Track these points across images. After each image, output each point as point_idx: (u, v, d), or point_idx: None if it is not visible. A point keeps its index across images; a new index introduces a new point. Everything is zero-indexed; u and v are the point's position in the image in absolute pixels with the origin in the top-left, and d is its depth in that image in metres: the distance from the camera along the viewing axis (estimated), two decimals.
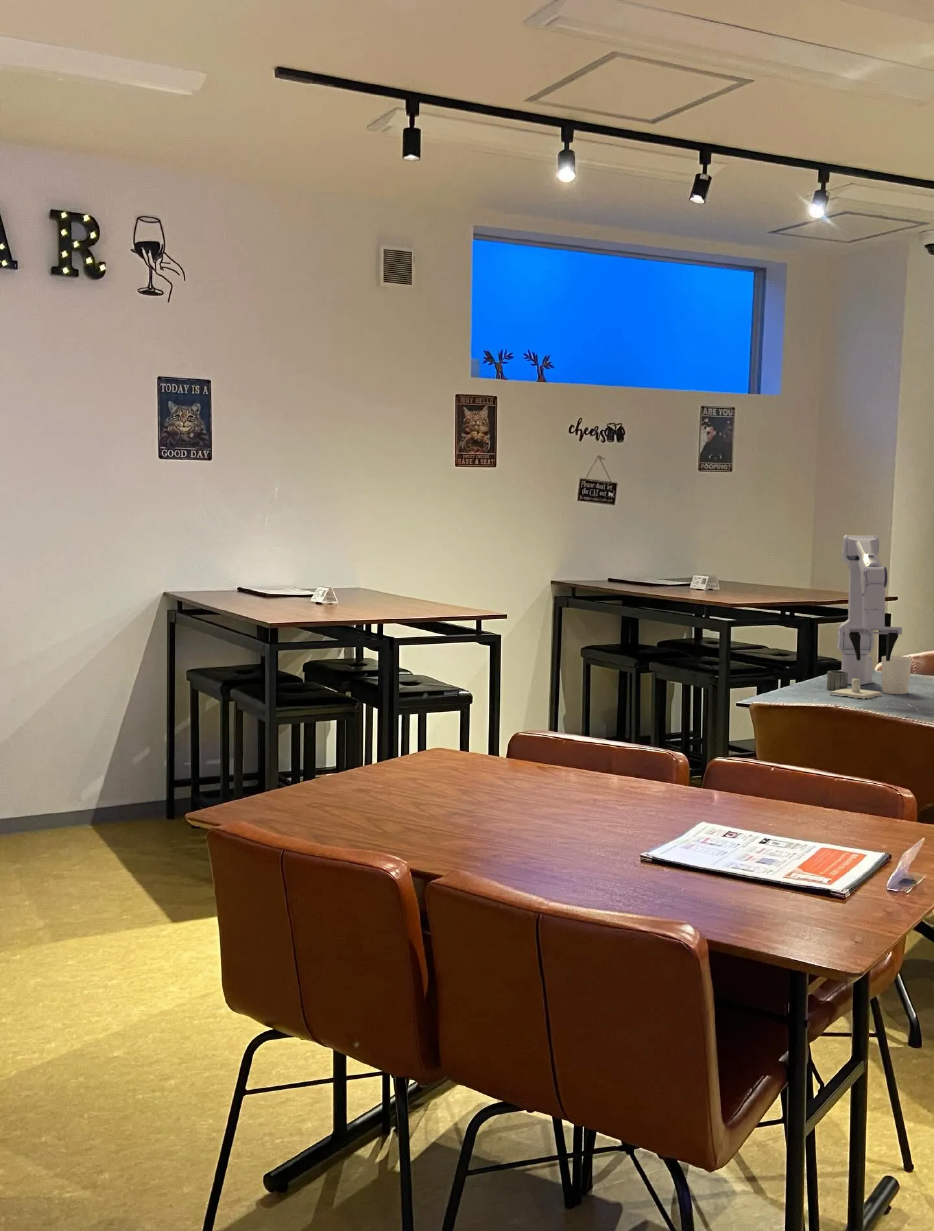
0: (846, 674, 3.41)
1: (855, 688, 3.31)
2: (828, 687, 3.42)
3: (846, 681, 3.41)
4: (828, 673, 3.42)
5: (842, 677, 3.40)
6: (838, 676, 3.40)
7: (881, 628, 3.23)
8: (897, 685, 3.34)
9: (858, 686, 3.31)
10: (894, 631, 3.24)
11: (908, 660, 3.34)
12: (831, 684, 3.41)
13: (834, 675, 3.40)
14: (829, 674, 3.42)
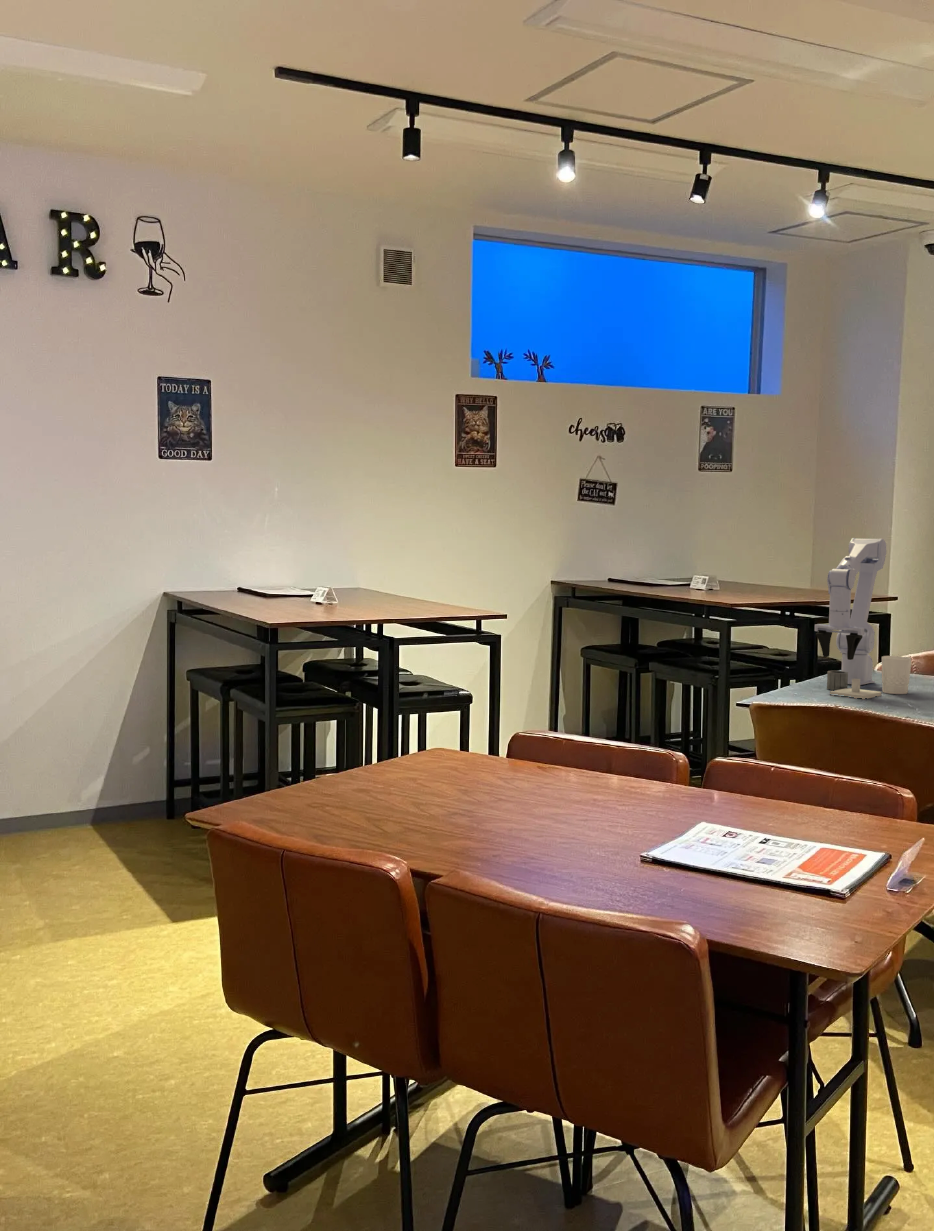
0: (846, 674, 3.41)
1: (855, 688, 3.31)
2: (828, 687, 3.42)
3: (846, 681, 3.41)
4: (828, 673, 3.42)
5: (842, 677, 3.40)
6: (838, 676, 3.40)
7: (839, 629, 3.38)
8: (897, 685, 3.34)
9: (858, 686, 3.31)
10: (856, 631, 3.37)
11: (908, 660, 3.34)
12: (831, 684, 3.41)
13: (834, 675, 3.40)
14: (829, 674, 3.42)
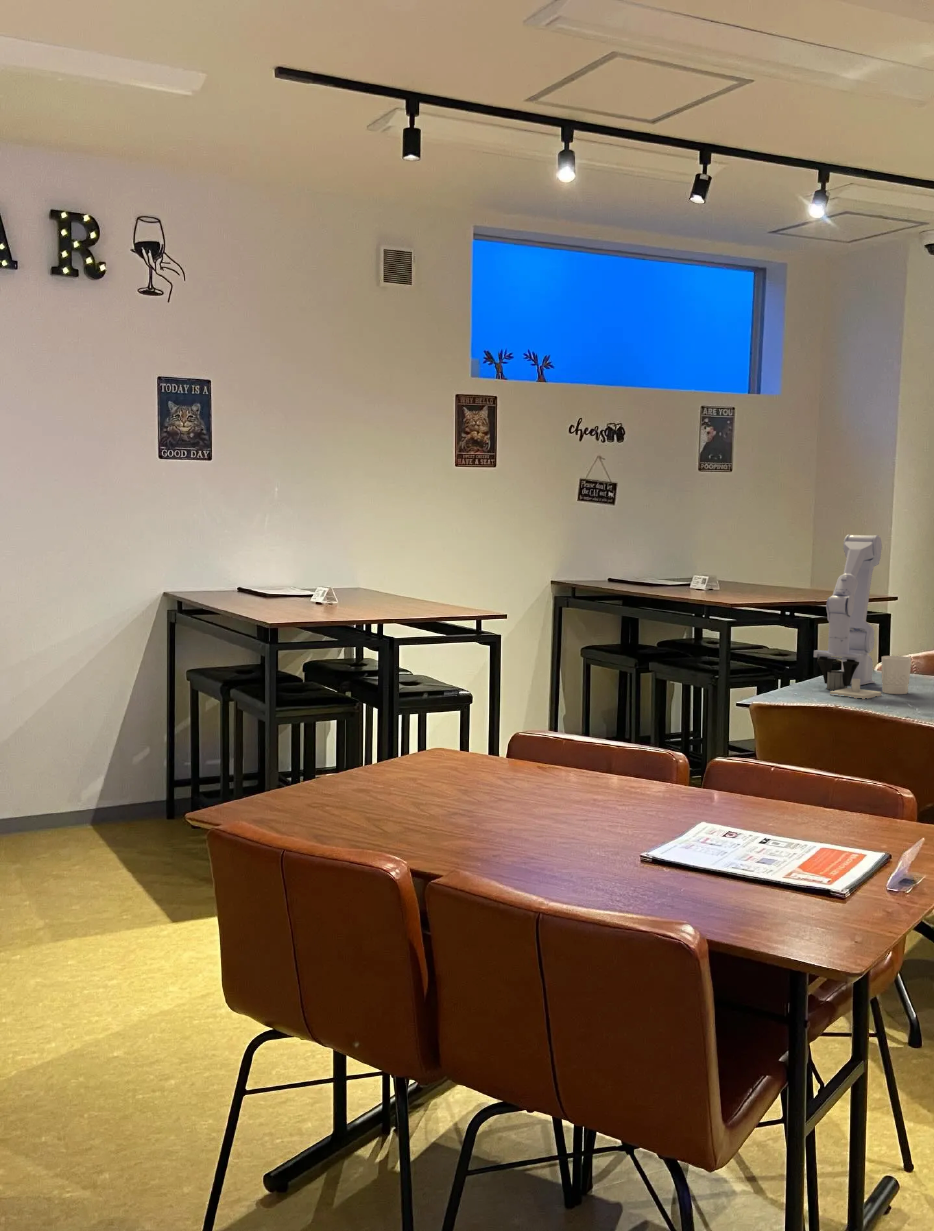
0: None
1: (855, 688, 3.31)
2: (828, 687, 3.42)
3: None
4: (828, 673, 3.42)
5: (842, 677, 3.40)
6: (838, 676, 3.40)
7: (838, 655, 3.39)
8: (897, 685, 3.34)
9: (858, 686, 3.31)
10: (855, 658, 3.38)
11: (908, 660, 3.34)
12: (831, 684, 3.41)
13: (834, 675, 3.40)
14: (829, 674, 3.42)
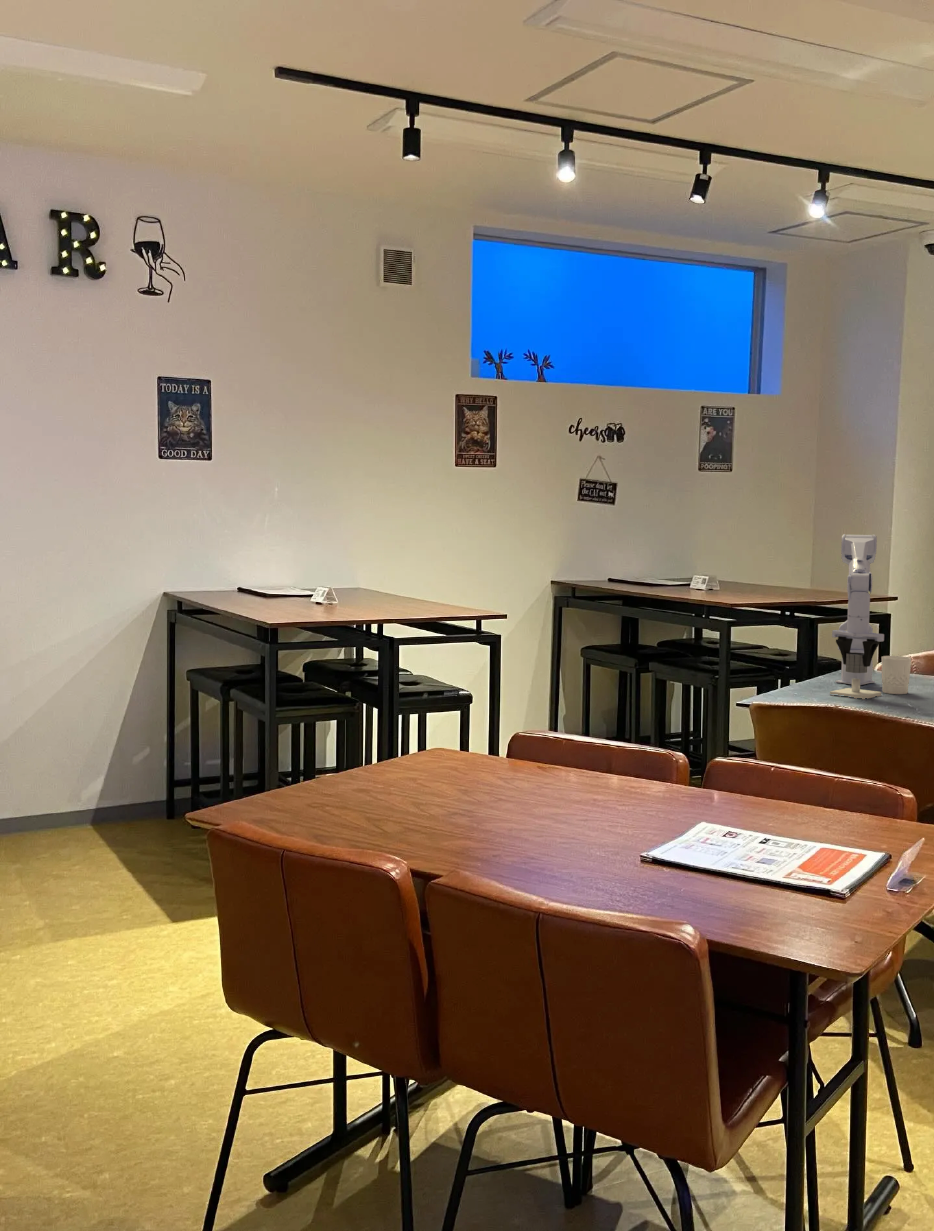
0: None
1: (855, 688, 3.31)
2: (847, 669, 3.31)
3: None
4: (847, 655, 3.31)
5: (862, 659, 3.29)
6: (858, 658, 3.29)
7: (858, 635, 3.28)
8: (897, 685, 3.34)
9: (858, 686, 3.31)
10: (875, 638, 3.27)
11: (908, 660, 3.34)
12: (850, 666, 3.30)
13: (853, 657, 3.29)
14: (848, 656, 3.30)
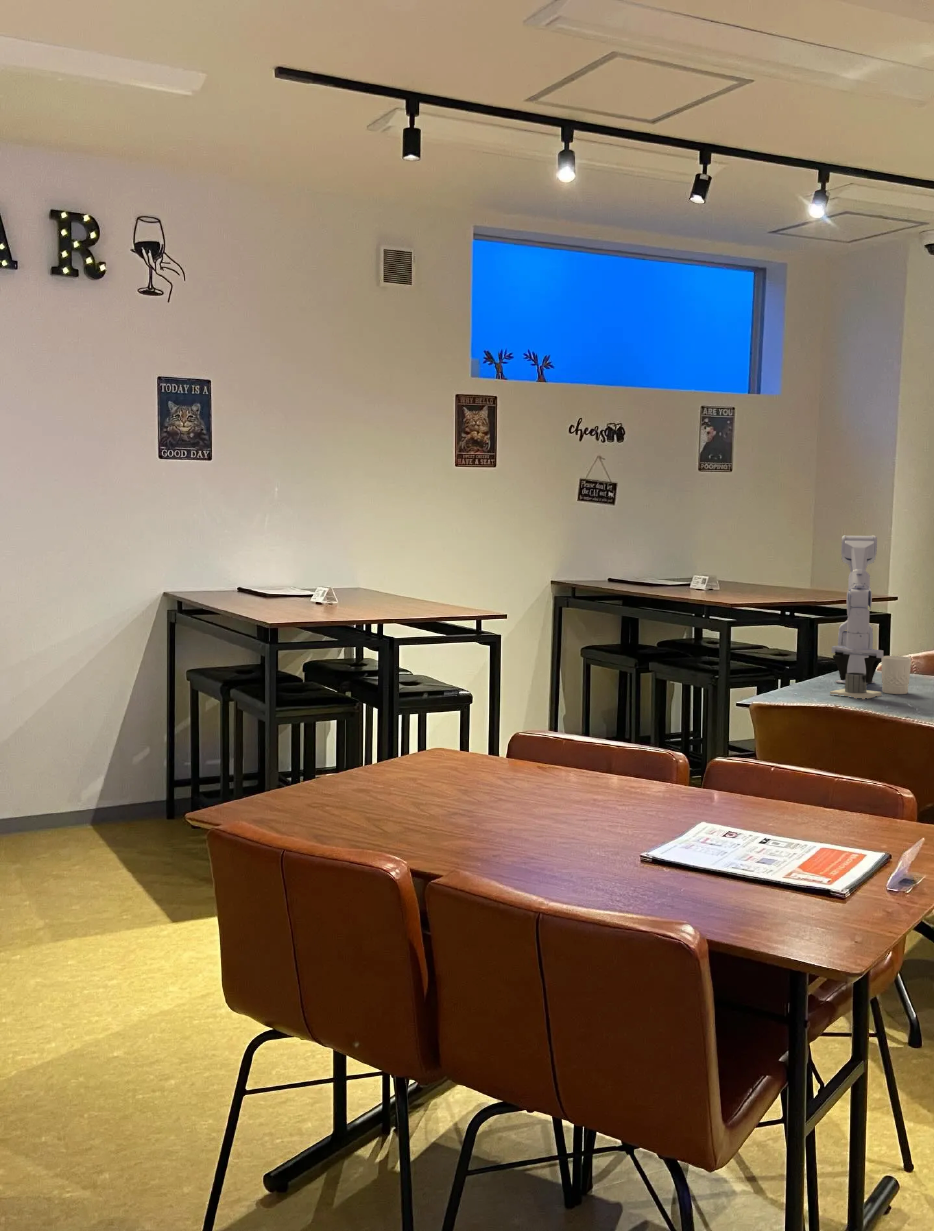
0: (865, 676, 3.30)
1: None
2: (846, 689, 3.32)
3: (865, 683, 3.30)
4: (846, 675, 3.31)
5: (861, 679, 3.29)
6: (857, 678, 3.29)
7: (858, 651, 3.28)
8: (897, 685, 3.34)
9: None
10: (874, 654, 3.27)
11: (908, 660, 3.34)
12: (849, 686, 3.30)
13: (853, 677, 3.30)
14: (847, 676, 3.31)
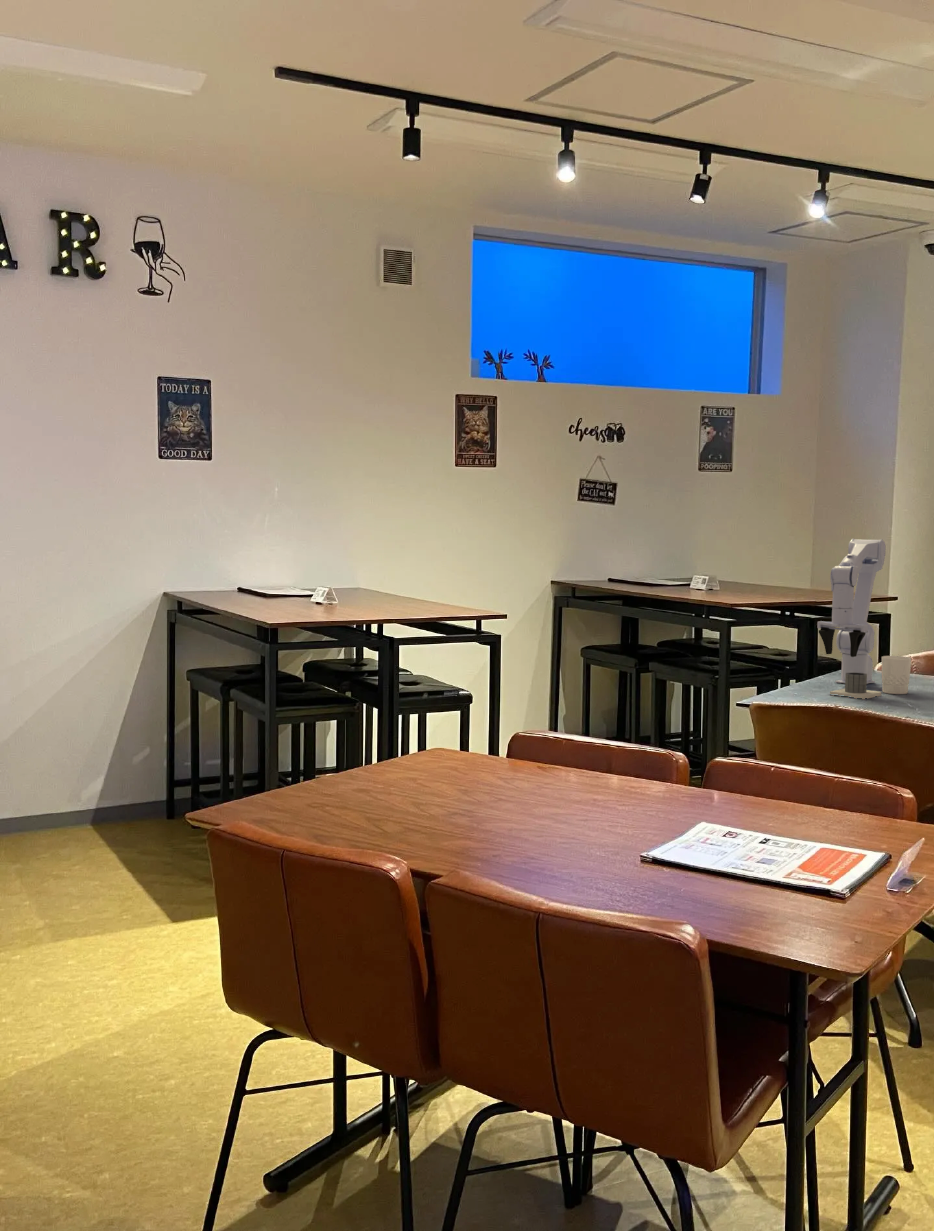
0: (865, 676, 3.30)
1: None
2: (846, 689, 3.32)
3: (865, 683, 3.30)
4: (846, 675, 3.31)
5: (861, 679, 3.29)
6: (857, 678, 3.29)
7: (842, 626, 3.39)
8: (897, 685, 3.34)
9: None
10: (859, 628, 3.38)
11: (908, 660, 3.34)
12: (849, 686, 3.30)
13: (853, 677, 3.30)
14: (847, 676, 3.31)
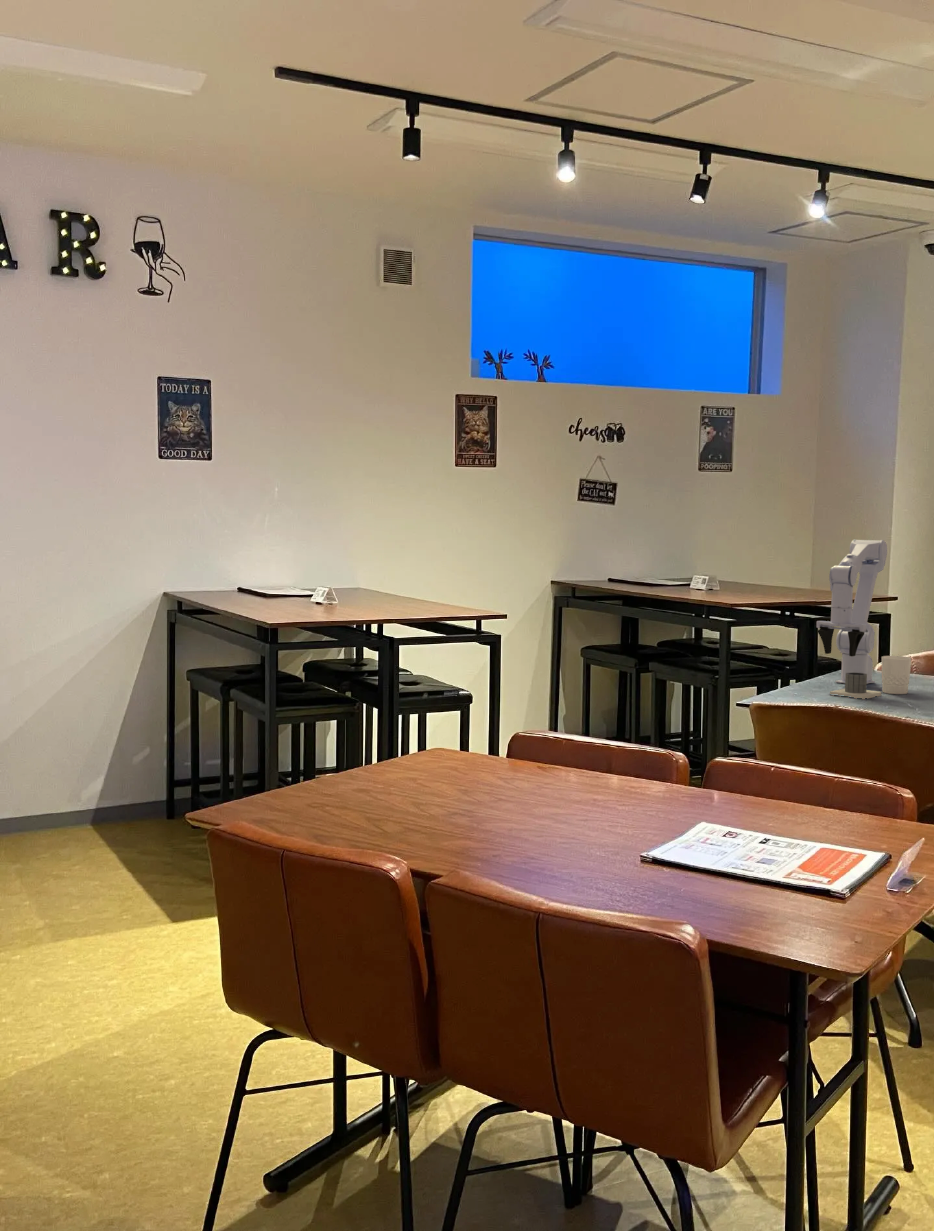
0: (865, 676, 3.30)
1: None
2: (846, 689, 3.32)
3: (865, 683, 3.30)
4: (846, 675, 3.31)
5: (861, 679, 3.29)
6: (857, 678, 3.29)
7: (841, 625, 3.39)
8: (897, 685, 3.34)
9: None
10: (858, 628, 3.38)
11: (908, 660, 3.34)
12: (849, 686, 3.30)
13: (853, 677, 3.30)
14: (847, 676, 3.31)
